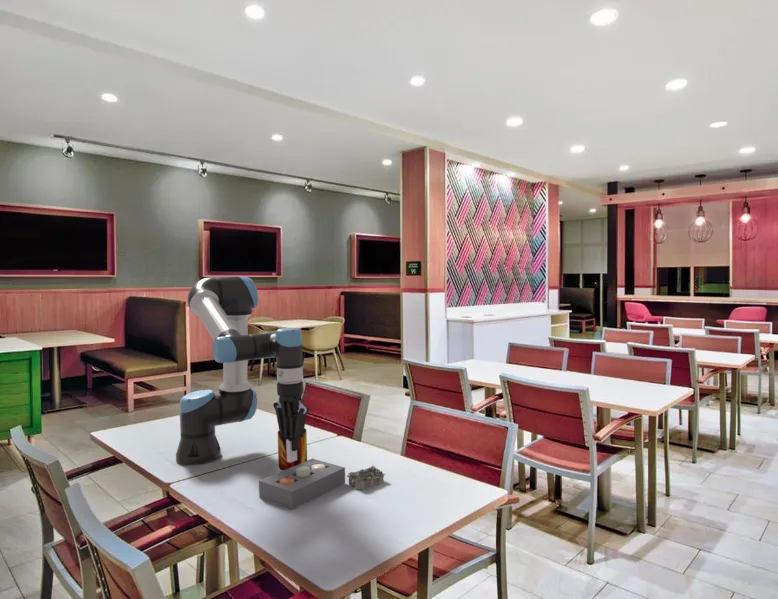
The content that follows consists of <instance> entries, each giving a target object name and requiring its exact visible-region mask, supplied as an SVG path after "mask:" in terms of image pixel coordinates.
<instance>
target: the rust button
mask: <svg viewBox="0 0 778 599" xmlns="http://www.w3.org/2000/svg"><path fill="white" fill-rule="evenodd" d="M292 483H294V478H291V477H286V478H282V479H280V484H282V485H286V486H287V485H289V484H292Z"/></svg>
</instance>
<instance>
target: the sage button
mask: <svg viewBox="0 0 778 599" xmlns="http://www.w3.org/2000/svg"><path fill="white" fill-rule="evenodd" d="M296 476H297V477H300V478H305V477H307V476H310V468H309V467H306V466H303V467H298V468H297V469H296Z"/></svg>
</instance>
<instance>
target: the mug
mask: <svg viewBox="0 0 778 599" xmlns="http://www.w3.org/2000/svg"><path fill="white" fill-rule="evenodd" d="M283 431H284V430H283ZM307 434H308V433H307V429H306V428H305V427H304V434H303V437H302V438H299V439H298V450H297V460H296V461H293V462H291V463H290V462H287V449H286V447H285V438H284V436H283V435H282V436H281V435H280V432H279V430H277V452H278V454H277V458H278V460H277V462H278V469H279V470H281V471H284V470H286V469H288V468H291V467H293V466H296V465H298V464H301V463H303V462H305V461H308V440H307V439H308V438H307Z"/></svg>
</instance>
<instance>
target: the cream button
mask: <svg viewBox="0 0 778 599" xmlns="http://www.w3.org/2000/svg"><path fill="white" fill-rule="evenodd" d="M311 468H312V470H315V471H321V470H323V469H325V465H323V464H315V465H313V466H312V467H311Z"/></svg>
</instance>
